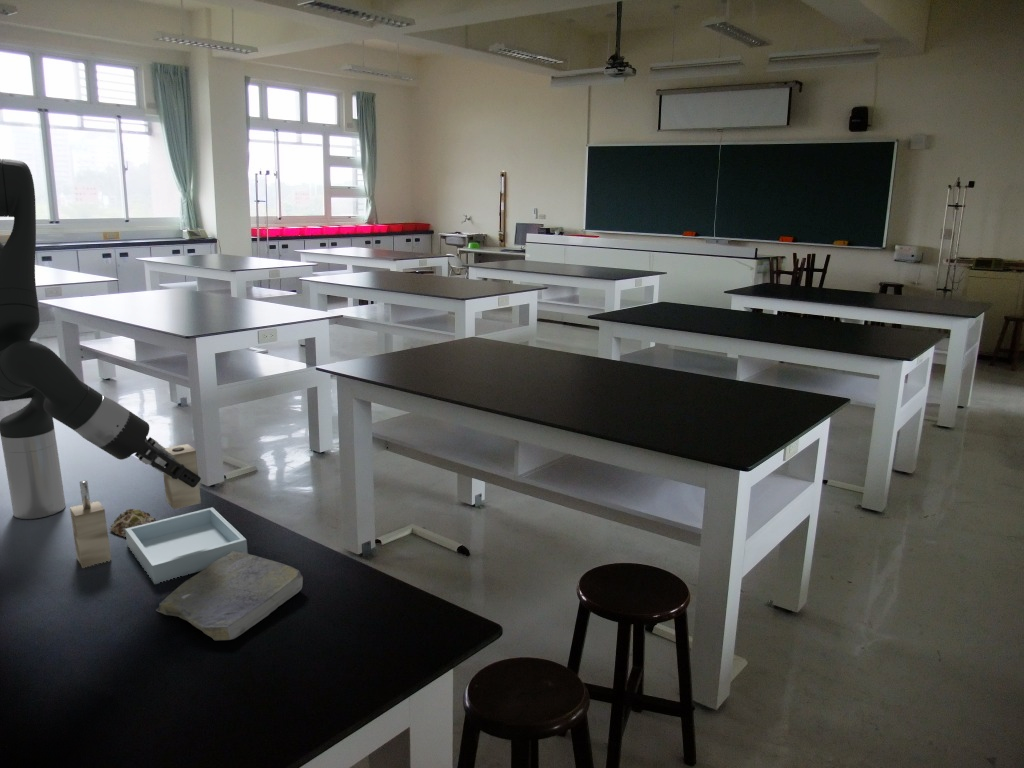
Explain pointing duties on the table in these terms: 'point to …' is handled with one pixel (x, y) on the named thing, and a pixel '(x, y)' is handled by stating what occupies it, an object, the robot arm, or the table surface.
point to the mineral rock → (130, 521)
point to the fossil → (233, 594)
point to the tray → (183, 543)
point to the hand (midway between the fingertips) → (192, 478)
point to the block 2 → (177, 489)
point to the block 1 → (90, 530)
